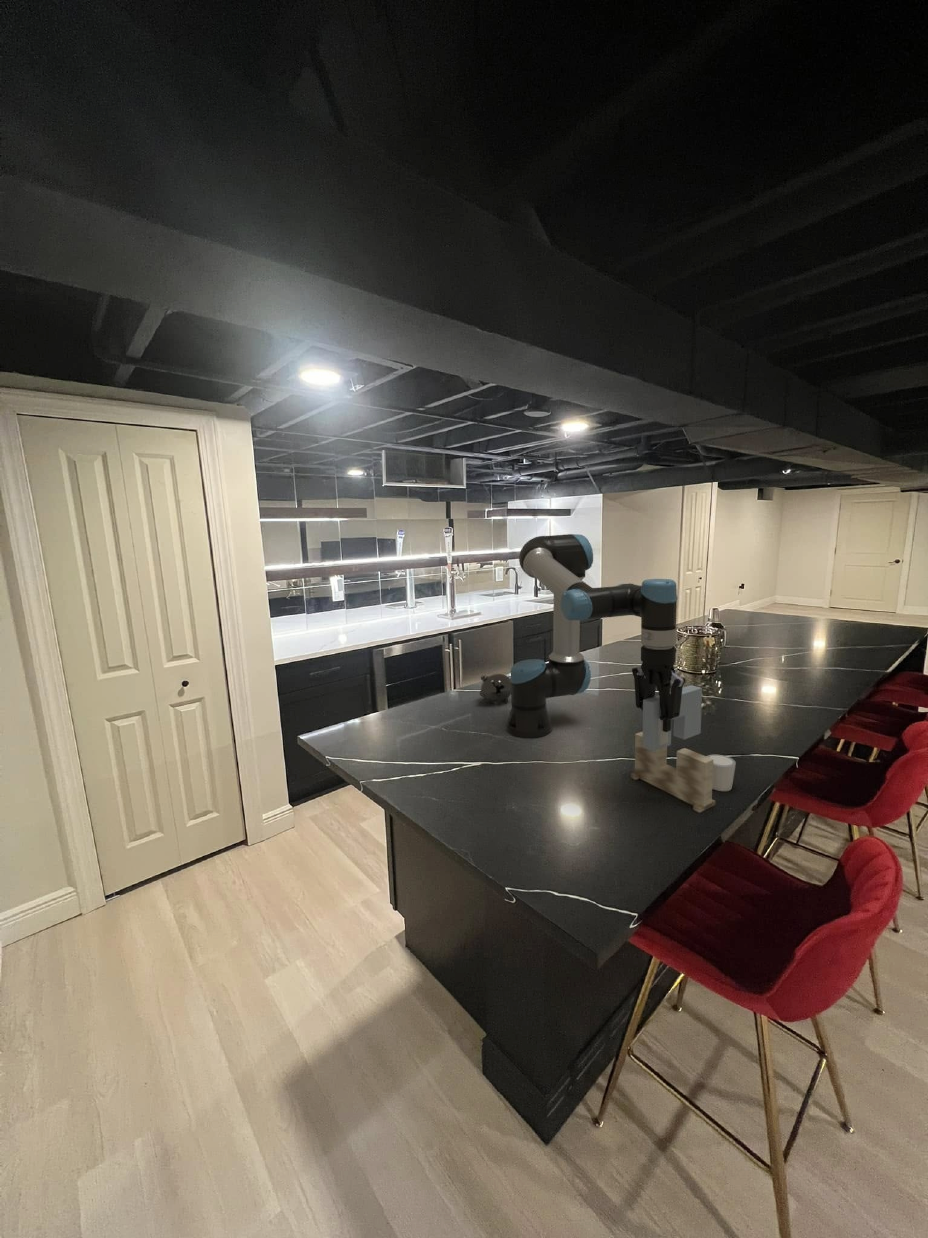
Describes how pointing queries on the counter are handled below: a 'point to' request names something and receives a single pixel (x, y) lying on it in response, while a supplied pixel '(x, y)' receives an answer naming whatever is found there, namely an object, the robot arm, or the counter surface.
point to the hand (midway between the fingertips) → (656, 740)
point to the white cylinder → (722, 772)
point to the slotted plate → (683, 725)
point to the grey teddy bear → (496, 688)
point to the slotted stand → (676, 774)
